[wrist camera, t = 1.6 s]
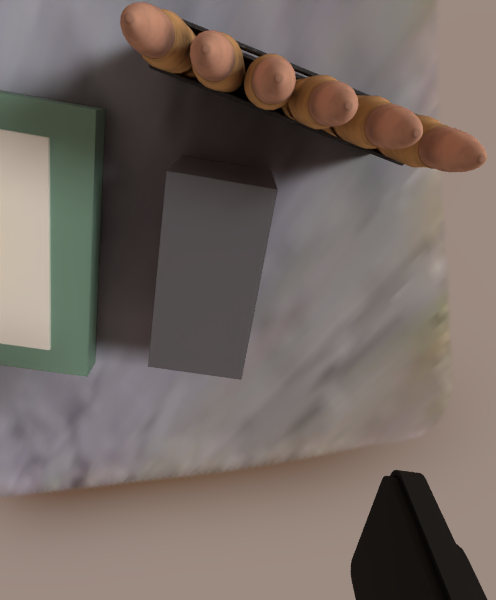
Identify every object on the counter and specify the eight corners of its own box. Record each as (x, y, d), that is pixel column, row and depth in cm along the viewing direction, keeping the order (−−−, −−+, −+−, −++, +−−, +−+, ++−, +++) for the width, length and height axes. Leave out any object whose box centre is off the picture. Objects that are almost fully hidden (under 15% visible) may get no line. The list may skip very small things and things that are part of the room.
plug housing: (182, 155, 23) (166, 170, 18) (271, 170, 23) (277, 189, 18) (165, 319, 26) (148, 366, 22) (242, 330, 27) (241, 379, 22)
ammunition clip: (164, 71, 21) (77, 46, 10) (175, 27, 21) (95, -49, 10) (376, 153, 23) (496, 208, 12) (393, 115, 22) (538, 135, 11)
